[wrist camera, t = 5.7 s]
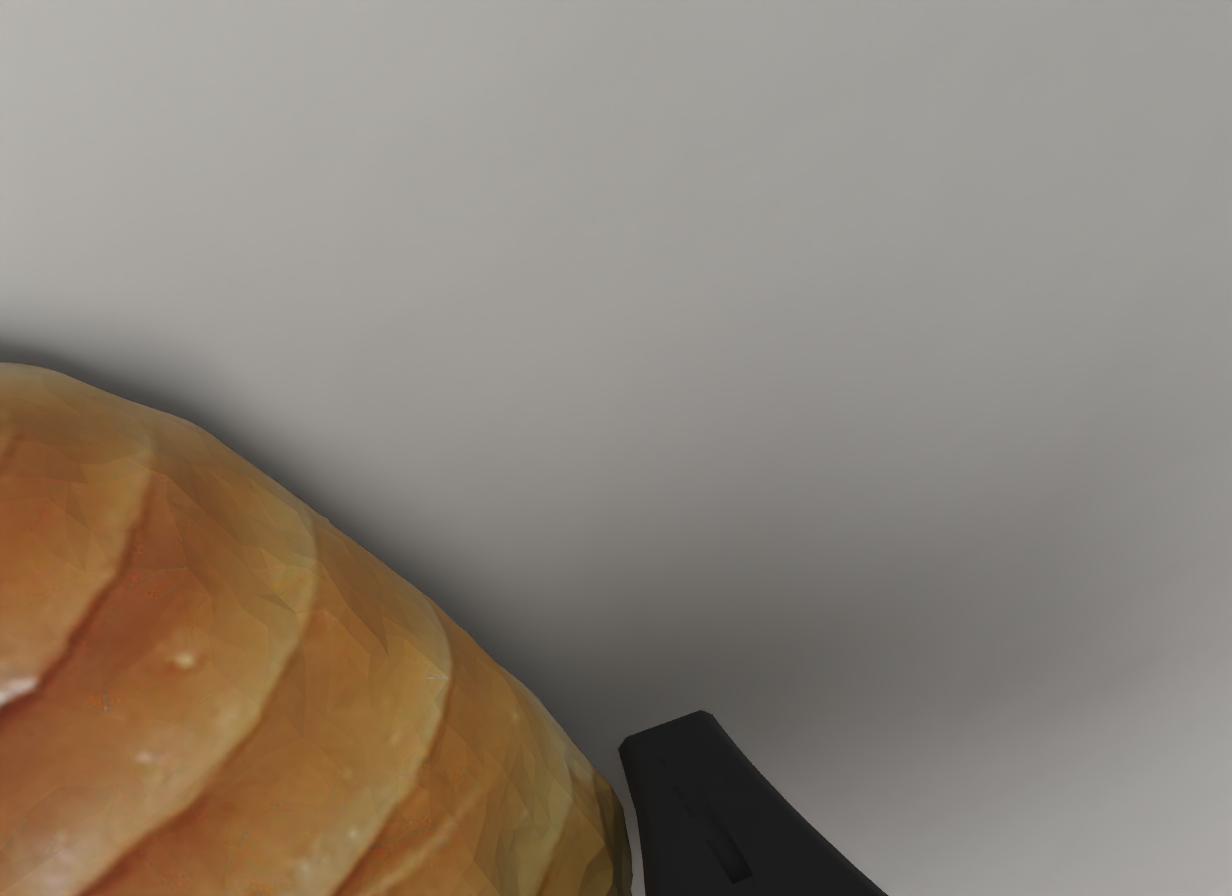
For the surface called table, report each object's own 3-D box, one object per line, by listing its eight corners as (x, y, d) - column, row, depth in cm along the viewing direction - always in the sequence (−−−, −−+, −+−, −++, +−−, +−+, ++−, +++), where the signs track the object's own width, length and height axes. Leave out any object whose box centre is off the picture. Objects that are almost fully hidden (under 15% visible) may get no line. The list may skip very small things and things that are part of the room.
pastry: (-601, 585, 9) (-1064, 1062, 6) (213, 152, 9) (216, 376, 6) (166, 1117, 14) (152, 1516, 11) (668, 840, 14) (800, 1156, 11)
